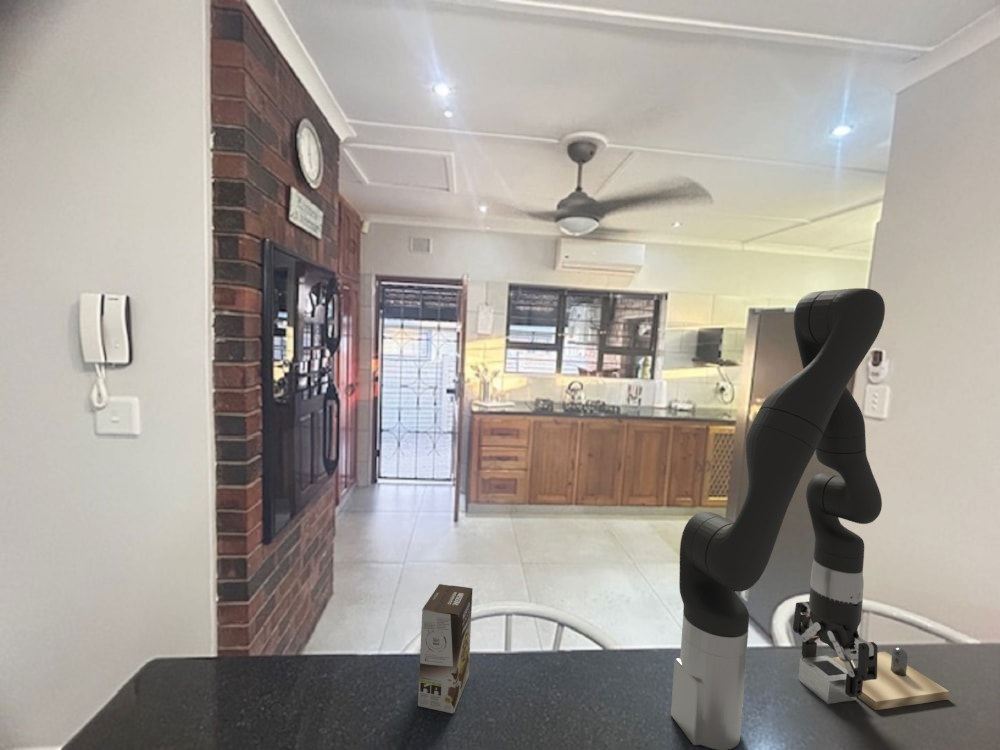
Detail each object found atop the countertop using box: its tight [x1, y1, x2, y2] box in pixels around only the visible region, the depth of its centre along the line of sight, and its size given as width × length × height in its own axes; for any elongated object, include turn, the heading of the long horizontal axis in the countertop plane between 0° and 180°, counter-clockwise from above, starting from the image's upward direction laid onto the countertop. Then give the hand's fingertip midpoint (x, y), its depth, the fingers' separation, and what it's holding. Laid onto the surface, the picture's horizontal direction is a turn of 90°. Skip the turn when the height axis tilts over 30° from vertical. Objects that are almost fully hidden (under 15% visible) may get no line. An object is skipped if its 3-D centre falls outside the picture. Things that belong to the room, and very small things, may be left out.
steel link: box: [797, 655, 857, 705], centre depth 83 cm, size 6×6×4 cm
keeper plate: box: [830, 646, 950, 711], centre depth 86 cm, size 16×11×6 cm
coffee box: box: [417, 583, 473, 714], centre depth 78 cm, size 9×6×16 cm
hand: (829, 677), depth 83 cm, fingers open, 8 cm apart
